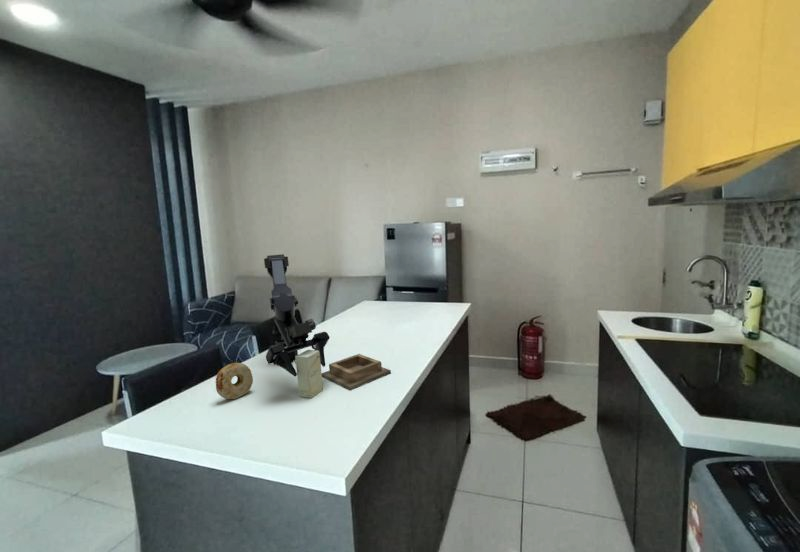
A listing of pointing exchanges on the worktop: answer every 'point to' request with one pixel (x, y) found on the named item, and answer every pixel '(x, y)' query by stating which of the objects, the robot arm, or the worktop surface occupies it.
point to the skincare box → (309, 373)
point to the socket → (355, 371)
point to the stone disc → (242, 384)
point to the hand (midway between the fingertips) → (310, 370)
